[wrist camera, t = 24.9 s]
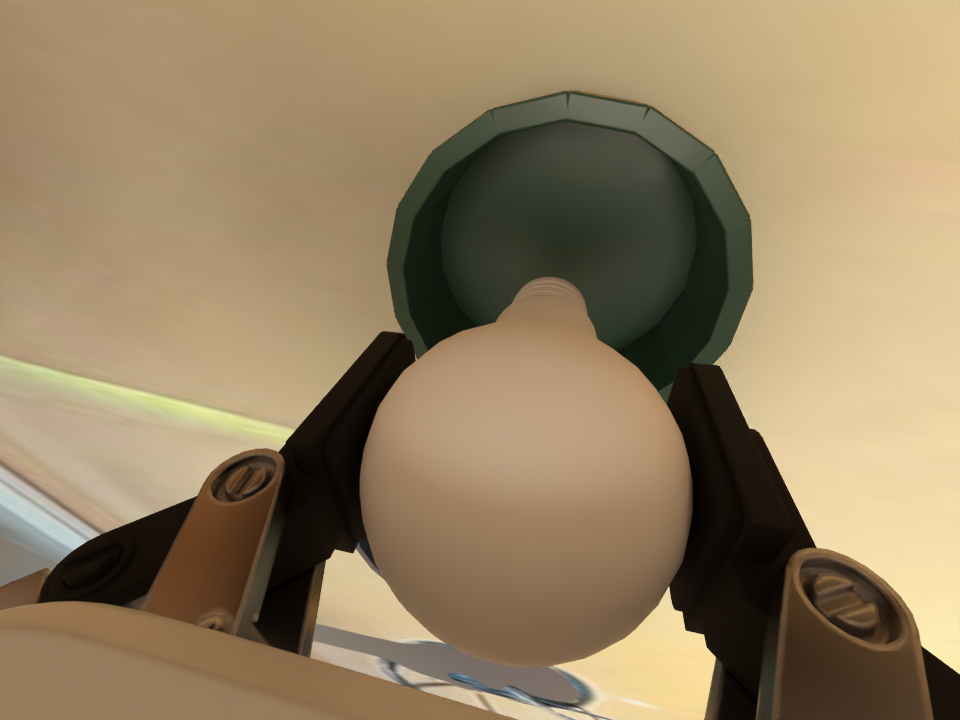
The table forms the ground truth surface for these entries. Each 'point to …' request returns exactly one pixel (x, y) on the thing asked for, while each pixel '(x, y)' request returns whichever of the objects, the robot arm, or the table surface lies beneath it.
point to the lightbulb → (527, 487)
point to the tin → (577, 230)
